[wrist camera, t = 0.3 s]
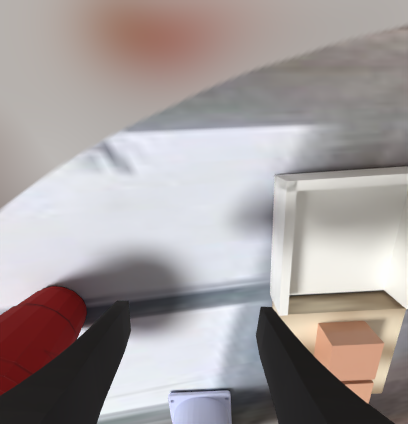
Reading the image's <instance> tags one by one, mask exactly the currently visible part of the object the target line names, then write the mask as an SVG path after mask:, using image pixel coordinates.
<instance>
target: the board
mask: <svg viewBox="0 0 408 424" xmlns="http://www.w3.org/2000/svg"><path fill="white" fill-rule="evenodd" d="M272 308H273V309H274V310H275V311H276V313H277V314H278V312H277V309H276V307H275V305H274V302H272ZM405 311H406V308H405V307H403V306H402V305H401V304H400V303H399V302H397V301H396V300H395V299H394V298H393V297H392V296H390V295H389V294H388V293H387V292H386V291H376V292H358V293H340V294H321V295H303V296H289V305H288V315H286V316H280V318H281V319H282V320H283V321H284V323H285V324H286V325H287V326H288V327H289V329H290V330H291V331H292V332H293V333H294V335H295V336H296V337H297V338H298V339H299V340H300V341H301V343H302V344H303V345H304V346H305V347H306V348H307V349H308V350H309V351H310V352H311V353H312V354H313V355H314V351H315V343H316V336H317V328H318V323H328V322H347V321H365V322H366V323H367V324H368V325H369V326H370V328H371V329H372V330H373V331H374V332H375V333H376V334H377V335H378V337H379V338H380V339H381V340H382V341H383V342H384V347H383V351H382V355H381V358H380V362H379V366H378V370H377V373H376V377H375V379H374V380H372V381H373V383H374V385H373V388H372V392H371V394H376V393H382V391H383V387H384V384H385V380H386V377H387V373H388V370H389V366H390V363H391V359H392V356H393V352H394V349H395V346H396V342H397V339H398V335H399V332H400V328H401V325H402V321H403V318H404V314H405ZM278 315H279V314H278Z"/></svg>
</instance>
